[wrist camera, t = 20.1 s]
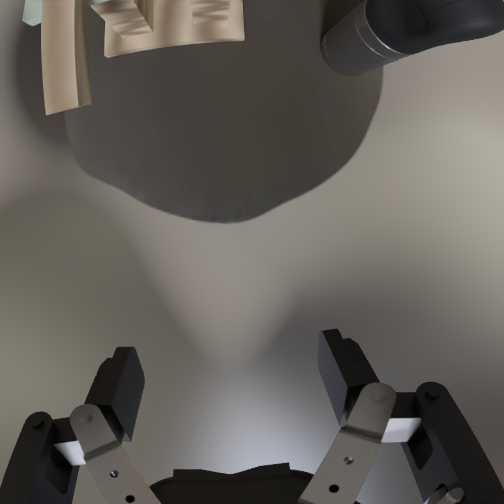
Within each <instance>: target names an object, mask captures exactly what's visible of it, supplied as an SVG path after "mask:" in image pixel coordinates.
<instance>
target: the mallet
mask: <svg viewBox="0 0 504 504" xmlns="http://www.w3.org/2000/svg"><path fill="white" fill-rule="evenodd" d="M88 4H89V0H42V26H41V32H42V33H41V46H42V72H43V86H44V97H45V108H46V115H49V114H53V113H56V112H60V111H64V110H68V109H72V108H76V107H80V106H84V105H88V104H93V103H92V93H91V80H90V65H89V39H88Z"/></svg>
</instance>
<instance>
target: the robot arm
mask: <svg viewBox="0 0 504 504" xmlns="http://www.w3.org/2000/svg"><path fill="white" fill-rule="evenodd" d="M502 30H504V1H503V0H364V1H362V2H361V3H360V4H359V5H358V6H356V7H355V8H354V9H353V10H352V11H350V12H349V13H348V14H347V15H346V16H344V17H343V18H342V19H341V20H340V21H339V22H338V23H336V24H335V25H334V26H333V27H332V28H331V29H329V30H328V31H327V32H326V33H325V34H324V36H323V38H322V40H321V53H322V55H323V58H324V59H325V61H326V63H327V64H328V65H329V66H330V67H331V68H332V69H334V70H335V71H337V72H339V73H341V74H344V75H351V76H352V75H358V74H360V73H363V72H366V71H369V70H373V69H375V68H378V67H381V66H383V65H386V64H389V63H392V62H395V61H397V60H399V59H401V58H404V57H407V56H410V55H413V54H415V53H419V52H422V51H424V50H427V49H430V48H433V47H437V46H441V45H445V44H450V43H456V42H462V41H469V40H474V39H479V38H484V37H487V36H490V35H494V34H496V33H498V32H500V31H502ZM318 368H319V371H320V374H321V377H322V379H323V382H324V385H325V387H326V390H327V393H328V396H329V398H330V401H331V403H332V407H333V409H334V412H335V415H336V418H337V420H338V423H339V425H340V426H342V425H345V426H344V427H341V429H340V431H339V432H338V434H337V436H336V438H335V440H334V441H333V443H332V445H331V447H330V449H329V451H328V452H327V454H326V456H325V458H324V459H323V461H322V463H321V465H320V466H319V468H318V470H317V471H316V473H315V474H311V473H308V472H304V471H299V470H290V466H289V463H281V464H273V465H264V466H258V467H255V468H252V469H249V470H245V471H242V472H239V473H235V474H224V473H218V472H213V471H207V470H202V469H191V470H190V469H188V470H187V469H182V470H181V469H174V471H173V477H169V478H166V479H163V480H160V481H158V482H156V483H154V484H152V485H151V486H150V487H149V486H148V485H147V484H146V482H145V481H144V479H143V478H142V476H141V475H140V474H139V472H138V471H137V469H136V468H135V466H134V465H133V463H132V462H131V460H130V459H129V457H128V456H127V454H126V453H125V451H124V450H123V448H122V447H121V443H122V441H128V442H131V440H132V435H133V431H134V426H135V422H136V418H137V413H138V409H139V405H140V401H141V397H142V393H143V389H144V384H145V378H144V373H143V370H142V367H141V364H140V361H139V358H138V355H137V352H136V350H135V348H134V347H117V348H116V350H115V353H114V355H113V358H107V359H106V360H105V361H104V362H103V363H102V364H101V365H100V367H99V369H98V372H97V375H96V376H95V379H94V382H93V383H92V386H91V388H90V391H89V393H88V395H87V398H86V401H85V403H84V404H83V405H80V406H78V407H76V408H75V409H74V410H73V411H72V413H71V414H70V417H67V418H61V419H54V420H53V419H52V418H51V416H50V415H49V414H48V413H46V412H35V413H33V414H32V415H30V416H29V417H28V418H27V419H26V421H25V423H24V426H23V428H22V431H21V433H20V435H19V438H18V440H17V443H16V445H15V448H14V450H13V453H12V456H11V458H10V461H9V464H8V467H7V469H6V472H5V475H4V478H3V481H2V484H1V487H0V504H72V500H73V495H74V490H75V485H76V480H77V476H78V471H79V467H80V465H82V464H86V465H87V467H88V469H89V471H90V473H91V475H92V477H93V479H94V481H95V482H96V484H97V486H98V488H99V490H100V492H101V493H102V495H103V497H104V499H105V500H106V502H107V504H360V503H359V502H357V501H356V498H357V496H358V494H359V492H360V490H361V488H362V486H363V483H364V481H365V479H366V477H367V475H368V472H369V470H370V467H371V466H372V463H373V461H374V459H375V456H376V454H377V451H378V449H379V446H380V444H381V442H401V445H402V447H403V450H404V452H405V455H406V457H407V460H408V462H409V465H410V467H411V470H412V472H413V475H414V477H415V480H416V483H417V485H418V488H419V491H420V493H421V496H422V499H423V502H424V504H504V489H503V487H502V485H501V483H500V481H499V479H498V477H497V475H496V473H495V471H494V469H493V467H492V466H491V464H490V462H489V460H488V458H487V456H486V454H485V453H484V451H483V449H482V447H481V446H480V444H479V442H478V440H477V438H476V437H475V435H474V434H473V431H472V430H471V428H470V426H469V425H468V423H467V421H466V420H465V418H464V416H463V415H462V413H461V412H460V410H459V408H458V406H457V405H456V403H455V402H454V400H453V398H452V397H451V395H450V394H449V392H448V390H447V389H446V388H445V387H444V386H443V385H441V384H439V383H436V382H426V383H423V384H421V385H420V386H419V387H418V388H417V391H416V392H395V391H394V389H393V388H392V387H391V386H389V385H387V384H384V383H380V381H379V380H378V378H377V376H376V374H375V372H374V371H373V369H372V368H371V365H370V364H369V362H368V360H367V359H366V357H365V355H364V354H363V351H362V350H361V348H360V346H359V345H358V344H357V343H356V342H355V341H353V340H352V339H350V338H347V339H343V338H342V336H341V334H340V332H339V330H338V329H331V330H324V331H320V333H319V346H318Z"/></svg>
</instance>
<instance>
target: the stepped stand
mask: <svg viewBox="0 0 504 504" xmlns="http://www.w3.org/2000/svg"><path fill="white" fill-rule="evenodd" d="M88 6H91V7H92V8H93V9H94V10H95V11H96V12H97V13H98V14H99V15H100V16H101V17H102V18H103V19H104V20H105V21H106V24H105V52H104V56H106V57H107V58H108V57H113V56H117V55H122V54H127V53H132V52H137V51H143V50H149V49H155V48H162V47H169V46H177V45H186V44H196V43H208V42H223V41H244V21H243V3H242V0H89V4H88ZM22 21H24V22H26V23H27V24H29V25H32V26H34V25H36V24H39V23H41V22H42V0H26V2H25V8H24V14H23V20H22Z"/></svg>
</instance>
